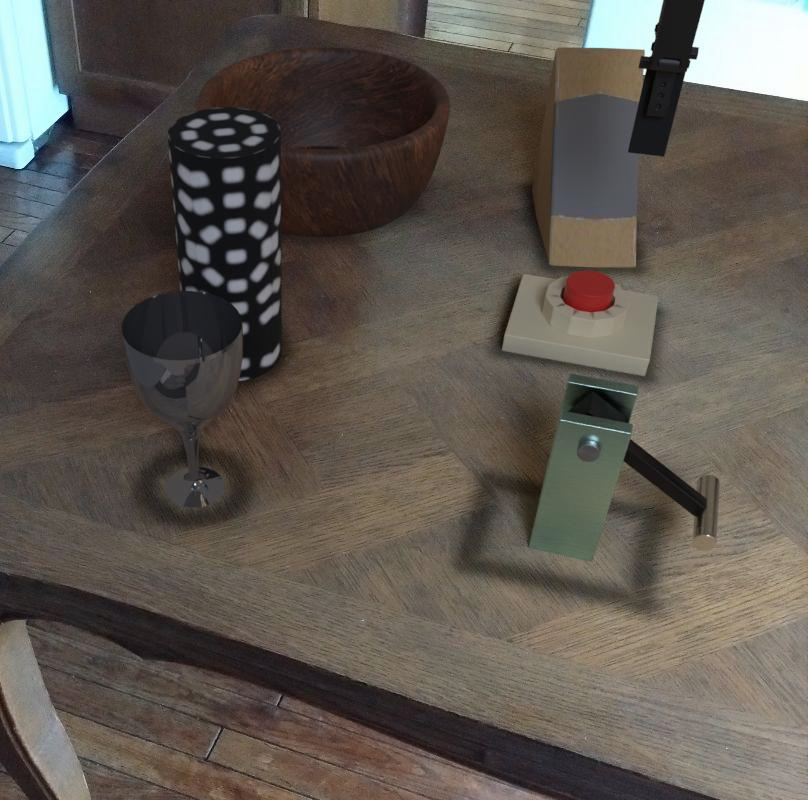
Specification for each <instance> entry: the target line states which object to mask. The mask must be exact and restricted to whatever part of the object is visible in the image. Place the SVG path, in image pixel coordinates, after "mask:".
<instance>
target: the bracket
mask: <svg viewBox="0 0 808 800" xmlns="http://www.w3.org/2000/svg"><path fill="white" fill-rule="evenodd" d="M639 387H640V386H639V385H636V384H631V383H625V382H621V381H614V380H608V379H603V378H597V377H592V376H587V375H581V374H576V373H569V374H568V378H567V382H566V386H565V390H564V393H563V394H564V395H563V399H562V401H561V402H562V403H561V408H560V411H559V415H558V419H557V423H556V428H555V432H554V437H553V441H552V445H551V449H550V452H549V457H548V461H547V465H546V470H545V474H544V477H543V482H542V485H541V491H540V494H539V498H538V503H537V507H536V509H537V510H536V514H535V518H534V520H533V521H534V522H533V526H532V530H531V534H530V538H529V543H528V549H531V550H536V551H540V552H546V553H550V554H555V555H559V556H564V557H567V558H568V557H569V558H572V559H577V560H581V561H586V562H591V563H592V562H593V561H594V558H595V555H596V551H597V548H598V545H599V541H600V538H601V535H602V532H603V528H604V526H605V522H606V519H607V516H608V512H609V510H610V506H611V503H612V499H613V496H614V493H615V490H616V486H617V483H618V480H619V477H620V473H621V470H622V468H623V464H624V458H625V454H626V451H627V448H628V445H629V441H630V439H631V438H632V435H633V428H634V424H633V423H630V421H631V418H632V414H633V411H634V408H635V405H636V402H637V398H638V395H639ZM592 392H595V393H596V394H597V395H598V396H600V397H601V398H602V399H603V400H605V401H606V402H607V403H608V404H610V405H611V406H612V407H614V408H615V409H616V410H617V411H619V412H620V413H621V414H622V415H624V416H625V419H624V422H619V421H614V420H609V419H604V418H598V417H593V416H588V415H583V414H577V413H572V412H567V411H569V410H570V409H571V408H572V407H574V406H575V405H576V404H578V403H579V402H580V401H581V400H583V399H584V398H585V397H587V396H588V395H589V394H590V393H592Z"/></svg>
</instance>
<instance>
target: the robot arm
mask: <svg viewBox="0 0 808 800" xmlns="http://www.w3.org/2000/svg"><path fill="white" fill-rule="evenodd" d="M705 1H706V0H662V4H661V9H660V13H659V17H658V22H656V24H655V25H654V37H655V38H654V41H653V42H651V47H650V51H651V55H650V56H641V58H640V63H639V68H641V69H644V70H645V74H644V77H643V85H642V91H641V96H640V100H639V104H638V109H637V113H636V118H635V122H634V126H633V131H632V135H631V140H630V144H629V149H628V152H629V153H637V154H639V155H645V156H646V155H647V156H655V157H665V155H666V151H667V148H668V144H669V139H670V136H671V132H672V127H673V125H674V119H675V116H676V112H677V107H678V104H679V100H680V96H681V92H682V88H683V84H684V81H685V76H686V72H688V69H689V68H690V65H691V60H695V61H696V60H697V59H698V55H699V49H700V47H698V46H694V42H695V39H696V35H697V31H698V29H699V28H698V27H699V23H700V20H701V16H702V12H703V7H704V4H705Z"/></svg>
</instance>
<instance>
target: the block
mask: <svg viewBox="0 0 808 800" xmlns="http://www.w3.org/2000/svg"><path fill="white" fill-rule="evenodd" d="M569 276H570V275H565V276H560V277H558V278H552V277H545V276H539V275H534V274H526V273H523V274H522V276H521V279H520V282H519V286H518V290H517V292H516V296H515V299H514V302H513V306H512V309H511V312H510V315H509V318H508V322H507V325H506V329H505V332H504V334H503V335H504V336H503V340H502V346H501V351H503V352H508V353H512V354H519V355H524V356H529V357H535V358H539V359H540V358H541V359H547V360H552V361H557V362H563V363H568V364H575V365H578V366H579V365H580V366H585V367H592V368H597V369H602V370H607V371H613V372H619V373H624V374H628V375H629V374H630V375H636V376H640V377H646V374H647V370H648V369H649V368H648V367H649V365H650V361H651V356H652V355H651V353H652V349H653V347H652V346H653V341H654V340H653V339H654V332H655V326H656V320H657V319H656V318H657V312H658V311H657V310H658V304H659V295H656V294H652V293H651V294H650V293H643V292H638V291H632V290H625V289H623V288H622V286H621V285H619V284H617V283H615V282H614V284H615V289H614V293H613V297H612V301H611V304H610V306H609V308H608V309H606V310H605V311H599V312H592V313H591V312H585V311H579V310H576V309H574V308H572V307H570V306H568V305H566V304H565V302H564V300H563V295H564V290H565V286H566V281H567V278H568V277H569Z"/></svg>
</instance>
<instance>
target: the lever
mask: <svg viewBox="0 0 808 800" xmlns="http://www.w3.org/2000/svg"><path fill="white" fill-rule="evenodd" d="M567 412H572V413H577V414H583V415H588V416H593V417H598V418H604V419H609V420H614V421H619V422H624V419H625V416H624V415H622V414H621V413H620V412H619V411H617V410H616V409H615V408H614V407H612V406H611V405H610V404H608V403H607V402H606V401H605V400H603V399H602V398H601V397H600V396H598V395H597V394H596V393H595V392H592V393H590V394H589V395H588V396H587V397H585V398H584V399H583V400H581V401H580V402H579V403H578V404H576V405H575V406H574V407H572V408H571V409H570V410H569V411H567ZM623 463H624V464H626V465H627V466H629V467H630V468H631V469H633V470H634V471H635V472H636V473H638V474H639V475H640V476H642V477H643V478H644V479H646V481H648V482H650V483H651V484H652V485H653V486H655V487H656V488H657V489H659V491H660V492H662V493H663V494H665V495H666V496H668V497H669V498H670V499H671V500H673V501H674V502H675V503H677V504H678V505H679V506H681V508H683V509H684V510H686V512H688V513H689V514H690V515H692V516H693V526H692V527H693V528H692V529H693V530H692V541H691V544H692V546H693V547H694V548H695V549H696V550H698V551H701V552H709V551H712V550H714V549H715V547H716V546H717V541H718V540H717V539H718V523H719V506H720V488H721V487H720V486H721V482H720V479H719V478H718V477H717V476H715V475H712V474H704V475H702V476H700V477H699V478H698V479H697V480H696V488H694V487H693V486H691V485H690V484H689V483H688V482H686V481H685V480H684V479H682V478H681V477H680V476H679V475H678V474H676V473H675V472H673V471H672V470H671V469H669V468H668V467H667V466H666V465H665V464H663V463H662V462H661V461H659V460H658V459H657V458H655V457H654V456H653V455H652V454H650V453H649V452H648V451H646V450H645V449H644V448H643V447H641V445H639V444H638V443H636V442H635V441H634V440H633V439H631V438H630V441H629V445H628V448H627V451H626V454H625V458H624V461H623Z"/></svg>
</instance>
